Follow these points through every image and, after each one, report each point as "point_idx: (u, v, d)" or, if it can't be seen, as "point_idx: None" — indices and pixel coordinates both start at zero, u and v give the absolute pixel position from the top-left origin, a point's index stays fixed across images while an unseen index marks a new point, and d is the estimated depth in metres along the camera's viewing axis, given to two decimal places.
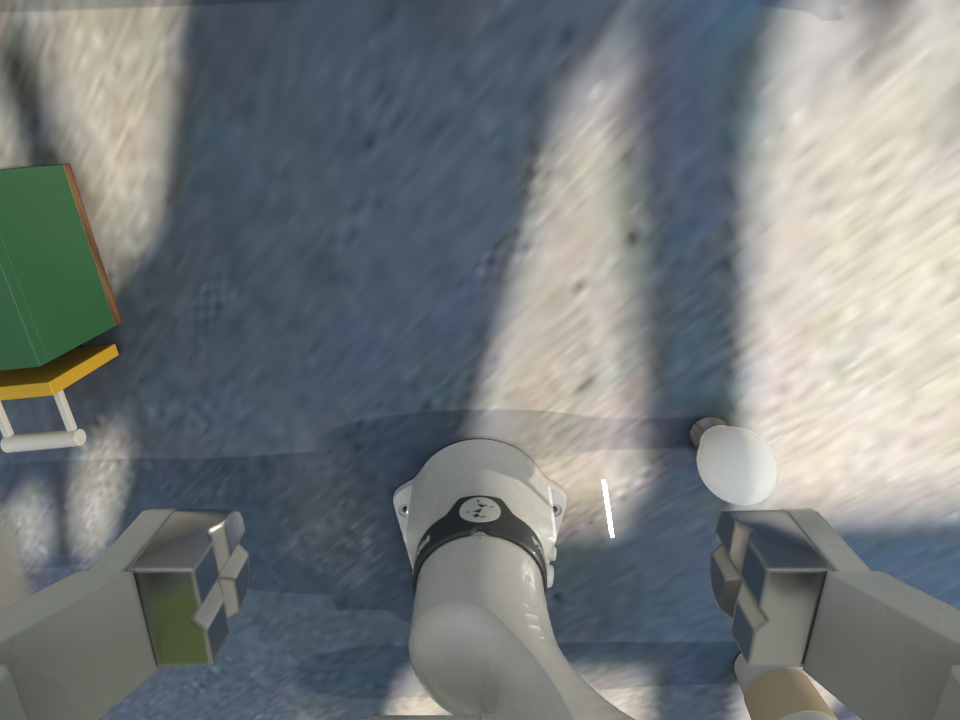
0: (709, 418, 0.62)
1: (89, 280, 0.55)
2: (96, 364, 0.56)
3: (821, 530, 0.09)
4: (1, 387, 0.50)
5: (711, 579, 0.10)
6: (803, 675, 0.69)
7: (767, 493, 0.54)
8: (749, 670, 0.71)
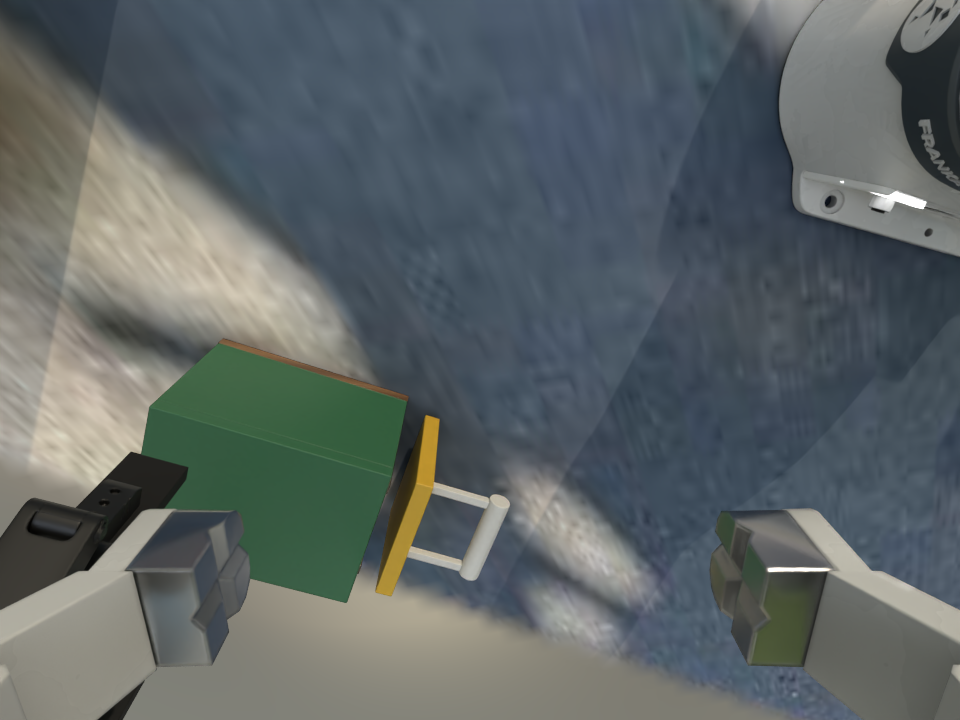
0: None
1: (343, 391, 0.46)
2: (433, 439, 0.45)
3: (821, 530, 0.09)
4: (398, 531, 0.41)
5: (712, 580, 0.10)
6: None
7: None
8: None
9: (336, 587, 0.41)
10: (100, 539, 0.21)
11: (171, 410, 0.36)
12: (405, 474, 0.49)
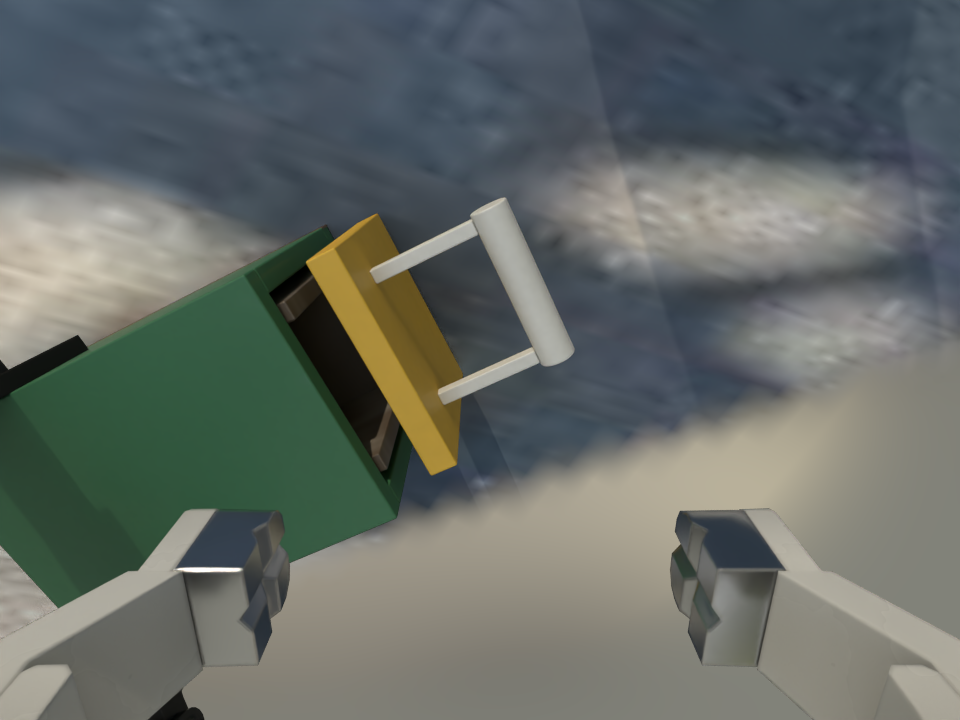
0: None
1: None
2: (357, 226, 0.27)
3: (776, 530, 0.09)
4: (363, 359, 0.22)
5: (671, 579, 0.10)
6: None
7: None
8: None
9: (360, 505, 0.24)
10: None
11: None
12: None
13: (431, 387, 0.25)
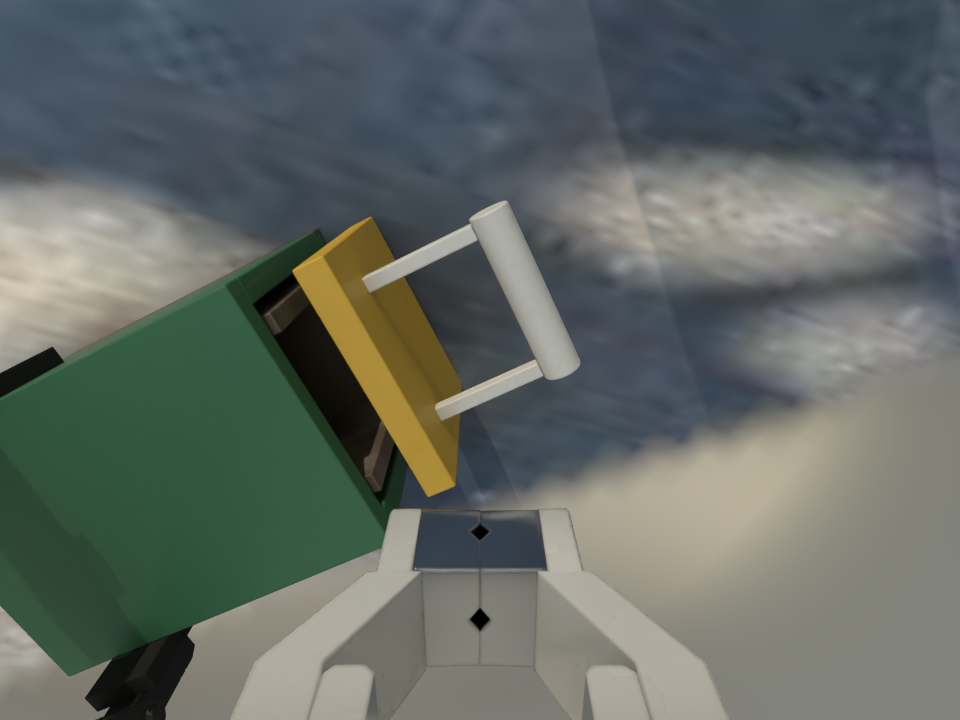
0: None
1: (214, 282, 0.28)
2: (350, 230, 0.25)
3: (558, 530, 0.09)
4: (355, 374, 0.21)
5: None
6: None
7: None
8: None
9: (352, 530, 0.22)
10: None
11: None
12: None
13: (428, 402, 0.24)
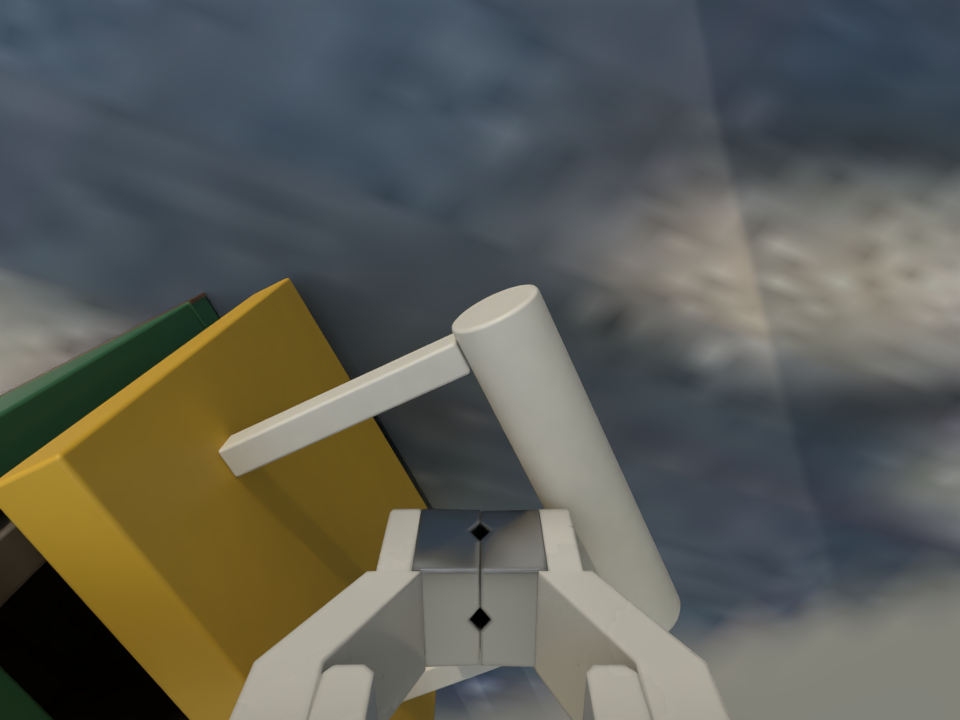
0: None
1: (9, 394, 0.16)
2: (227, 319, 0.13)
3: (558, 530, 0.09)
4: (178, 703, 0.09)
5: None
6: None
7: None
8: None
9: None
10: None
11: None
12: None
13: None
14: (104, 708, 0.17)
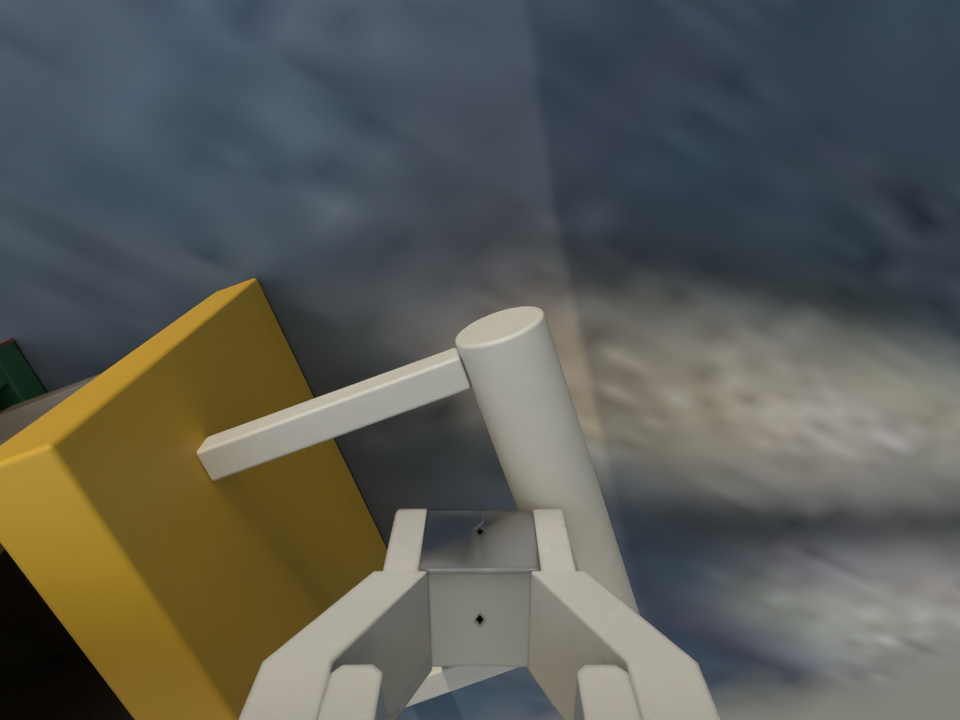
0: None
1: None
2: (199, 315, 0.13)
3: (552, 530, 0.09)
4: None
5: None
6: None
7: None
8: None
9: None
10: None
11: None
12: None
13: None
14: None
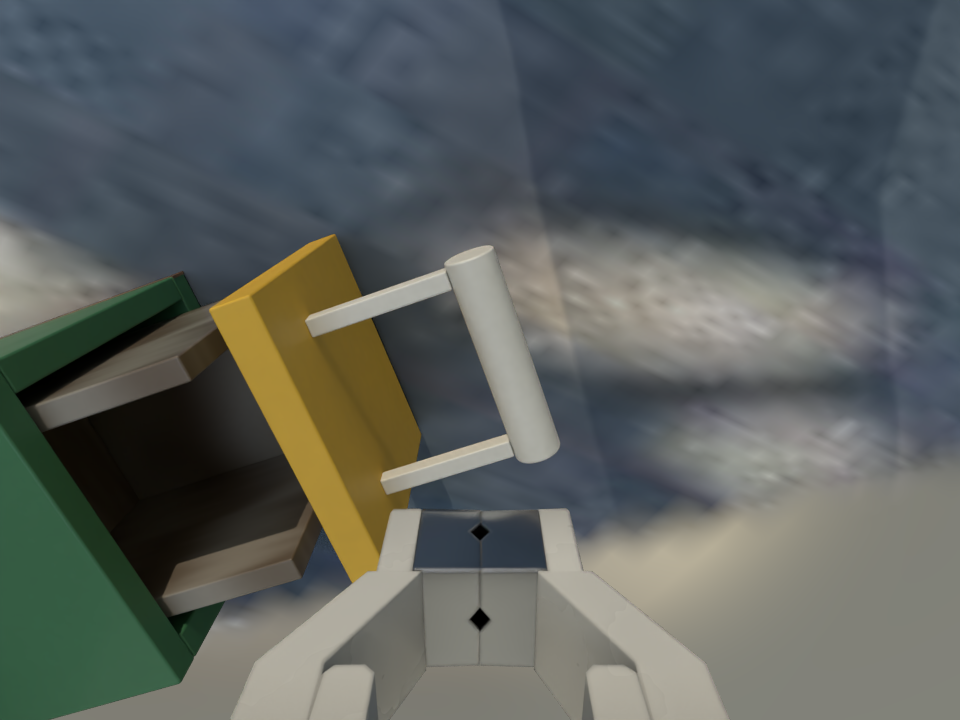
0: None
1: (44, 325, 0.24)
2: (302, 253, 0.21)
3: (558, 530, 0.09)
4: (279, 442, 0.17)
5: None
6: None
7: None
8: None
9: (133, 665, 0.18)
10: None
11: None
12: None
13: (372, 473, 0.20)
14: (175, 514, 0.24)
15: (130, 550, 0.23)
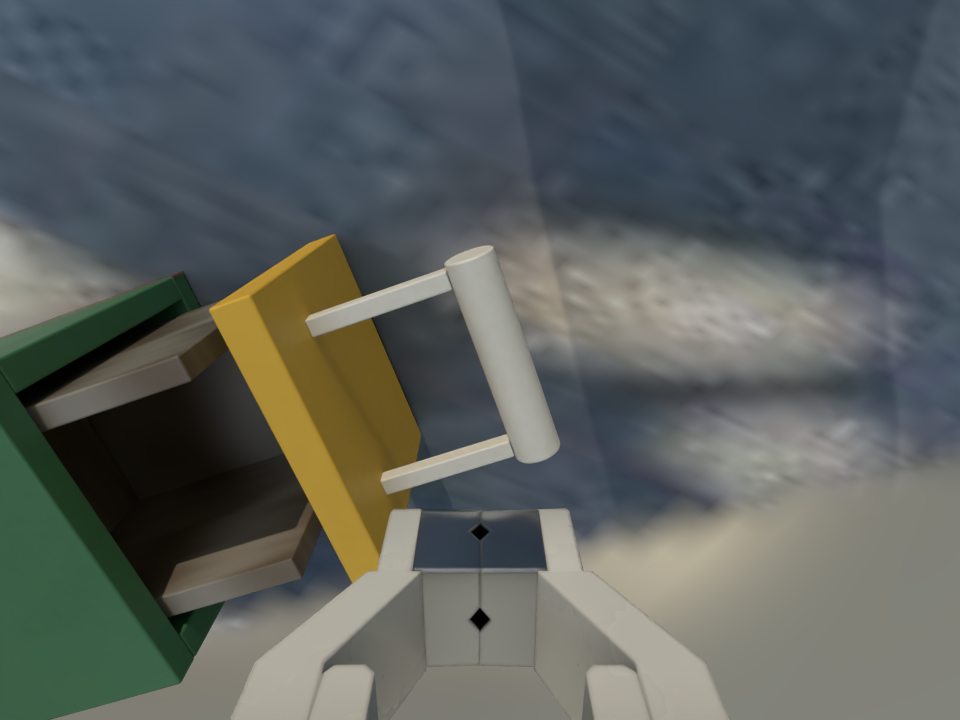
0: None
1: (44, 325, 0.24)
2: (302, 253, 0.21)
3: (558, 530, 0.09)
4: (279, 442, 0.17)
5: None
6: None
7: None
8: None
9: (133, 665, 0.18)
10: None
11: None
12: None
13: (372, 473, 0.20)
14: (175, 514, 0.24)
15: (130, 550, 0.23)
